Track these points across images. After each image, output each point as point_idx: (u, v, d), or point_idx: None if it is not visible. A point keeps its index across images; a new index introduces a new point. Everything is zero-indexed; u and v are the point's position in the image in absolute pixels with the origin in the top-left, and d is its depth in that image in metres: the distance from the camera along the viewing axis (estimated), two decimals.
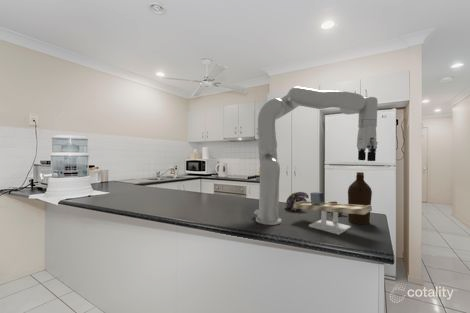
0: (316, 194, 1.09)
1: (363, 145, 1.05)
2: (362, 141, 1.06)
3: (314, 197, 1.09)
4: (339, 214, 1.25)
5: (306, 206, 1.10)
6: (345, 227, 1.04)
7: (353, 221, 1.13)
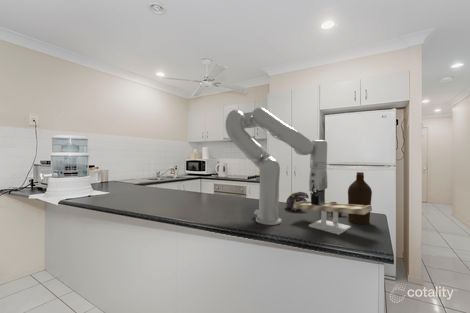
0: None
1: (326, 186, 1.11)
2: (325, 183, 1.10)
3: None
4: (339, 214, 1.24)
5: (306, 206, 1.10)
6: (345, 227, 1.04)
7: (353, 221, 1.13)
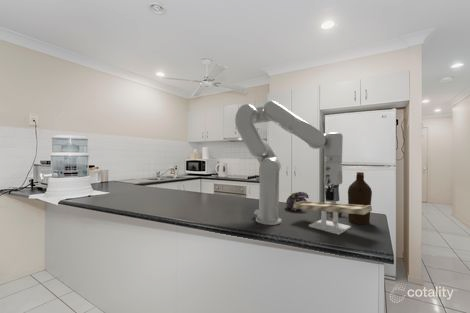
0: None
1: (341, 181, 1.06)
2: (340, 178, 1.05)
3: None
4: (338, 215, 1.24)
5: (306, 206, 1.10)
6: (345, 227, 1.04)
7: (353, 221, 1.13)
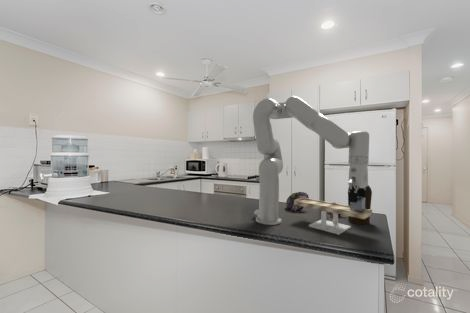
0: (358, 199, 0.95)
1: (367, 184, 0.98)
2: (366, 180, 0.97)
3: None
4: (338, 215, 1.23)
5: (306, 204, 1.09)
6: (345, 227, 1.04)
7: (353, 221, 1.13)
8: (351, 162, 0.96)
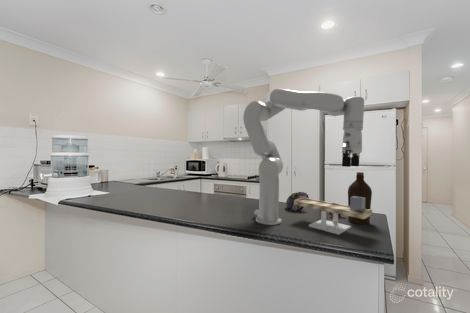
0: (358, 199, 0.95)
1: (360, 150, 0.99)
2: (360, 146, 0.98)
3: (355, 202, 0.96)
4: (338, 216, 1.22)
5: (306, 204, 1.09)
6: (345, 227, 1.04)
7: (353, 221, 1.13)
8: (345, 127, 0.97)
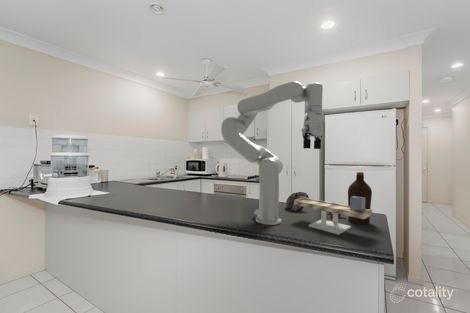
0: (358, 199, 0.95)
1: (321, 133, 1.05)
2: (320, 129, 1.04)
3: (355, 202, 0.96)
4: (338, 216, 1.21)
5: (306, 204, 1.09)
6: (345, 227, 1.04)
7: (353, 221, 1.13)
8: (306, 112, 1.04)
